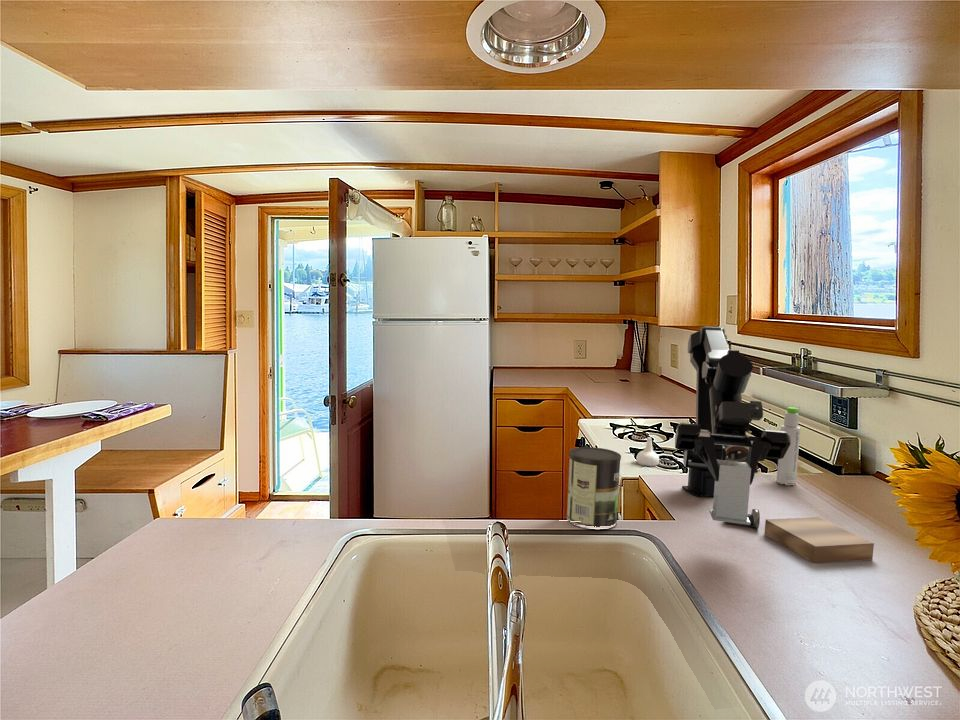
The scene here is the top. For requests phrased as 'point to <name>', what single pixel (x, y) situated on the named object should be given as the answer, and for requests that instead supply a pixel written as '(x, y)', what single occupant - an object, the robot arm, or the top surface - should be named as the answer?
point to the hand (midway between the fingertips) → (733, 481)
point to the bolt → (752, 519)
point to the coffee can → (593, 486)
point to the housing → (731, 492)
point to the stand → (819, 540)
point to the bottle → (789, 449)
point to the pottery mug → (737, 454)
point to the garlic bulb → (648, 455)
